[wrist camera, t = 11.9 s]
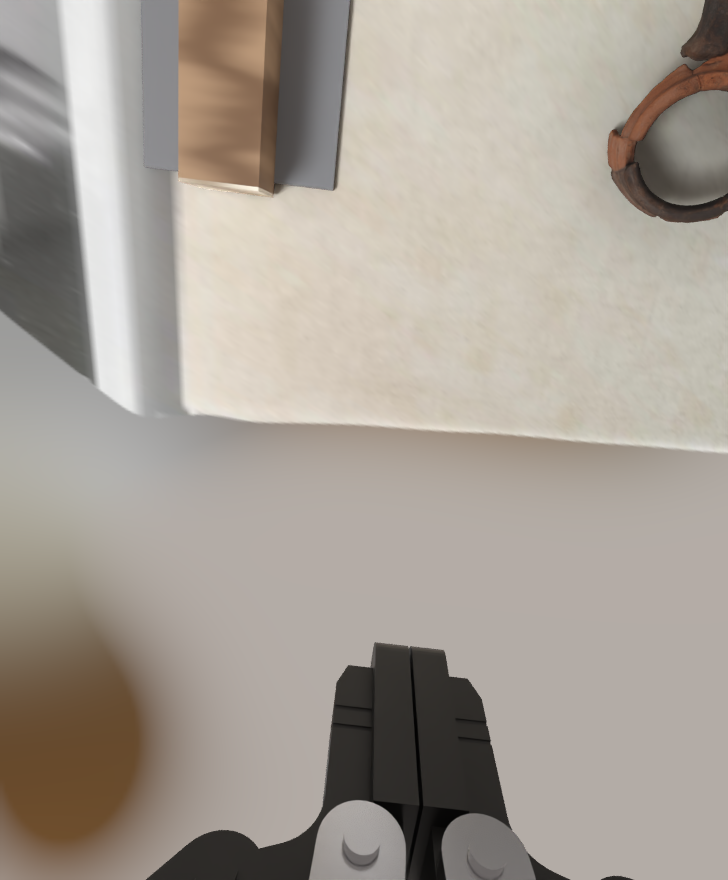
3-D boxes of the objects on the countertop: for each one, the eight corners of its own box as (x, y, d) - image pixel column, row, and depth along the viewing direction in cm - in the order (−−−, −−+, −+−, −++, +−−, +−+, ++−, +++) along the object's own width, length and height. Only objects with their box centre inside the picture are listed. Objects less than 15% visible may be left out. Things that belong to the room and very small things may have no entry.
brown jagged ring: (779, 180, 35) (796, 224, 29) (615, 205, 39) (603, 248, 34) (812, -67, 28) (843, -71, 23) (611, -2, 33) (595, 8, 27)
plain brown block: (273, 197, 35) (285, -33, 31) (258, 191, 31) (270, -77, 27) (203, 188, 35) (206, -44, 31) (178, 181, 31) (178, -89, 27)
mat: (355, -62, 31) (355, -66, 30) (333, 190, 35) (332, 190, 35) (142, -89, 31) (139, -94, 30) (146, 167, 35) (144, 166, 35)
